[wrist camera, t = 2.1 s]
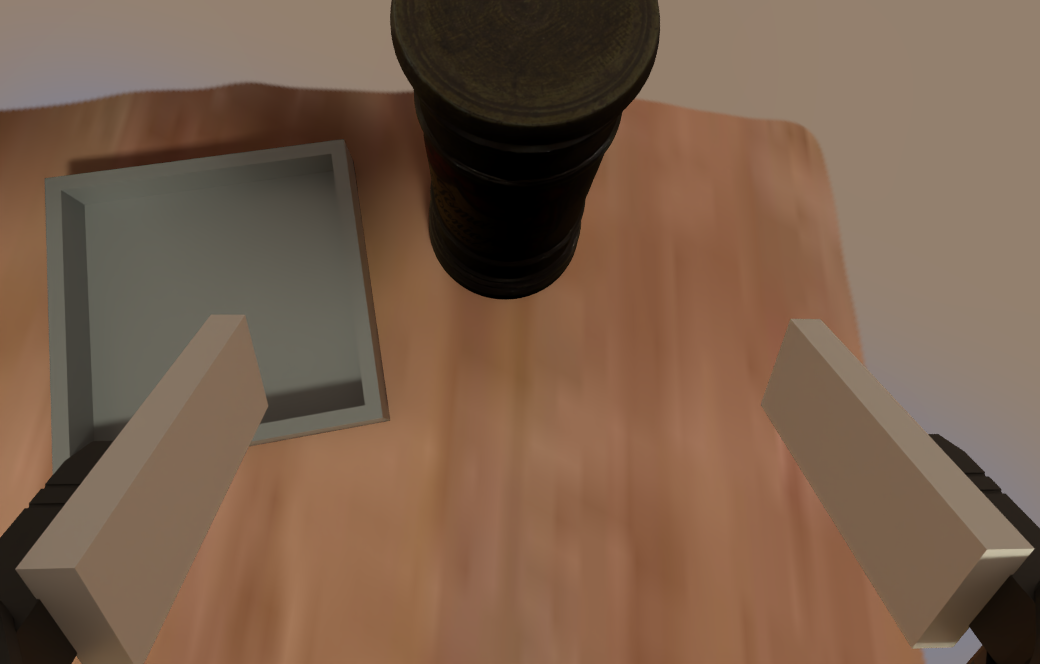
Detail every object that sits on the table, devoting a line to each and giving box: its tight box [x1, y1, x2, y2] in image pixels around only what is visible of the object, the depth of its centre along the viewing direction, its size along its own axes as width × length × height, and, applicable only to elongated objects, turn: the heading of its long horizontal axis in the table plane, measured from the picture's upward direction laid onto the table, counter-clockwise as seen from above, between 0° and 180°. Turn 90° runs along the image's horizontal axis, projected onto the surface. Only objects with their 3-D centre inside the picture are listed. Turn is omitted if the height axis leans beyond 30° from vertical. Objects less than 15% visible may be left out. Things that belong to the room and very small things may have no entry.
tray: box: [45, 139, 390, 474], centre depth 32 cm, size 16×16×2 cm
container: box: [390, 0, 660, 299], centre depth 26 cm, size 9×9×18 cm
